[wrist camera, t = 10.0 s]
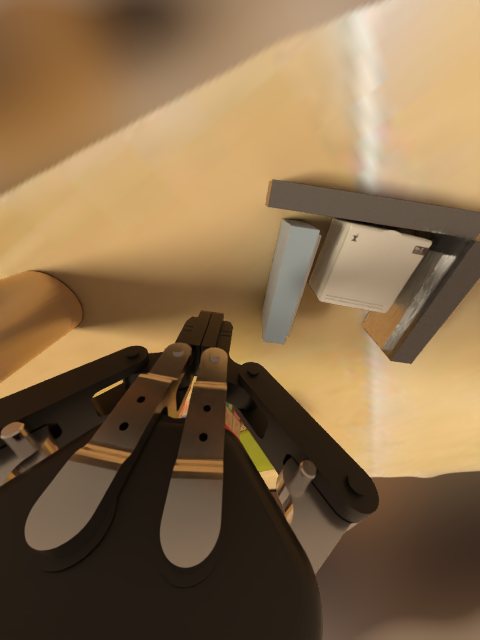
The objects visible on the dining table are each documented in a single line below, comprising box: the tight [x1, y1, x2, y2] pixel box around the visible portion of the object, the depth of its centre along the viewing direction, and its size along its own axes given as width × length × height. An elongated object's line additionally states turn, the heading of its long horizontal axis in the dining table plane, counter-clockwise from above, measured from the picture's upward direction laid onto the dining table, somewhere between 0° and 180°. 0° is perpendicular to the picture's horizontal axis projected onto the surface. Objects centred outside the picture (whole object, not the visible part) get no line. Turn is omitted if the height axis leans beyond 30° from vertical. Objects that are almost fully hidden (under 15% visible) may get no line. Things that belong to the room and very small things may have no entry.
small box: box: [308, 218, 432, 313], centre depth 22 cm, size 8×8×5 cm
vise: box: [265, 180, 480, 364], centre depth 22 cm, size 19×15×7 cm
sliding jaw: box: [261, 219, 321, 344], centre depth 22 cm, size 3×12×6 cm, turn 173°
